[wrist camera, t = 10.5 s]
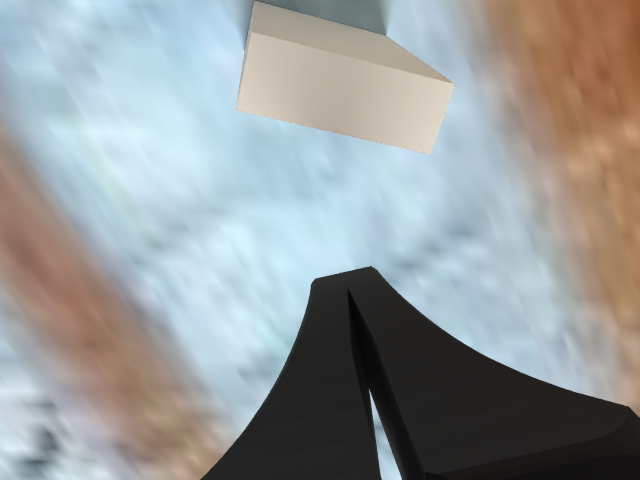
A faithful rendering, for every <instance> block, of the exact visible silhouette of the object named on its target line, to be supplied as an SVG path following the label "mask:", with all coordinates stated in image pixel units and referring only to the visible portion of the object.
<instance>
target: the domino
mask: <svg viewBox="0 0 640 480" xmlns="http://www.w3.org/2000/svg"><path fill="white" fill-rule="evenodd" d="M454 87H455V84H454V83H453V82H451V81H450V80H449V79H447V78H446V77H444V76H443V75H441V74H440V73H439V72H437V71H436V70H434V69H433V68H431V67H430V66H429V65H427V64H426V63H424V62H423V61H422V60H420V59H419V58H417V57H416V56H414V55H413V54H412V53H410V52H409V51H407V50H406V49H404V48H403V47H402V46H400V45H399V44H397V43H396V42H395V41H393V40H392V39H390V38H389V37H387V36H385V35H381V34H378V33H374V32H370V31H367V30H363V29H359V28H355V27H352V26H348V25H344V24H340V23H337V22H333V21H329V20H325V19H322V18H318V17H314V16H311V15H307V14H303V13H299V12H296V11H292V10H288V9H284V8H281V7H277V6H273V5H269V4H266V3H262V2H258V1H255V0H254V5H253V10H252V15H251V21H250V26H249V31H248V36H247V41H246V46H245V51H244V58H243V65H242V72H241V79H240V86H239V93H238V100H237V107H236V110H238V111H242V112H247V113H251V114H256V115H260V116H264V117H269V118H273V119H277V120H282V121H286V122H290V123H295V124H299V125H304V126H308V127H312V128H317V129H321V130H325V131H330V132H334V133H339V134H343V135H347V136H352V137H356V138H360V139H365V140H369V141H373V142H378V143H382V144H387V145H391V146H395V147H400V148H404V149H408V150H413V151H417V152H421V153H426V154H431V152H432V149H433V146H434V143H435V140H436V138H437V135H438V132H439V129H440V126H441V123H442V121H443V118H444V115H445V112H446V109H447V106H448V104H449V101H450V98H451V95H452V92H453V89H454Z"/></svg>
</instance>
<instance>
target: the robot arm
mask: <svg viewBox="0 0 640 480" xmlns="http://www.w3.org/2000/svg"><path fill="white" fill-rule="evenodd" d="M369 389H370V392H371V395H372V398H373V401H374V403H375V406H376V409H377V412H378V414H379V417H380V420H381V423H382V425H383V428H384V431H385V434H386V436H387V439H388V442H389V444H390V447H391V450H392V453H393V455H394V458H395V461H396V464H397V466H398V469H399V472H400V475H401V478H402V480H640V417H638V416H637V415H636V414H635V413H634V412H633V411H632V409H631V408H629V407H628V406H624V405H621V404H617V403H613V402H610V401H606V400H602V399H598V398H595V397H591V396H587V395H584V394H580V393H576V392H573V391H570V390H567V389H564V388H561V387H558V386H555V385H553V384H550V383H547V382H544V381H541V380H538V379H536V378H533V377H531V376H528V375H526V374H523V373H521V372H519V371H516V370H514V369H512V368H510V367H508V366H505V365H503V364H501V363H499V362H497V361H495V360H492V359H490V358H488V357H487V356H485V355H483V354H481V353H479V352H477V351H476V350H474V349H472V348H470V347H469V346H467V345H465V344H464V343H462V342H461V341H459V340H457V339H456V338H454V337H453V336H451V335H450V334H448V333H447V332H446V331H444V330H443V329H441V328H440V327H439V326H437V325H436V324H435V323H433V322H432V321H431V320H429V319H428V318H427V317H425V316H424V315H423V314H422V313H420V312H419V311H418V310H417V309H416V308H415V307H413V306H412V305H411V304H410V303H409V302H408V301H406V300H405V299H404V298H403V297H402V296H401V295H400V294H399V293H398V292H397V291H396V290H395V289H394V288H393V287H392V286H391V285H390V284H389V283H388V282H387V281H386V280H385V279H384V278H383V277H382V276H381V274H380V273H379V272H378V271H377V270H376V269H375V268H373V267H372V266H370V267H365V268H361V269H356V270H352V271H347V272H343V273H338V274H334V275H330V276H325V277H321V278H316V279H315V280H314V281H313V282H312V284H311V290H310V296H309V300H308V304H307V308H306V312H305V315H304V318H303V321H302V324H301V327H300V329H299V332H298V335H297V338H296V340H295V343H294V345H293V347H292V349H291V352H290V354H289V356H288V358H287V361H286V363H285V365H284V367H283V369H282V371H281V373H280V375H279V377H278V379H277V381H276V382H275V384H274V386H273V388H272V389H271V391H270V393H269V394H268V396H267V398H266V399H265V401H264V402H263V404H262V405H261V407H260V408H259V410H258V411H257V413H256V414H255V416H254V417H253V419H252V420H251V422H250V423H249V424H248V426H247V427H246V429H245V430H244V431H243V433H242V434H241V435H240V436H239V438H238V439H237V440H236V441H235V442H234V444H233V445H232V446H231V447H230V448H229V449H228V451H227V452H226V453H225V454H224V455H223V457H222V458H221V459H220V460H219V461H218V462H217V463H216V464H215V465H214V466H213V467H212V468H211V469H210V471H209V472H208V473H207V474H206V475H205V476H204V477H202V478H201V479H200V480H382V479H381V475H380V468H379V460H378V453H377V445H376V438H375V430H374V423H373V415H372V408H371V400H370V393H369Z"/></svg>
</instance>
